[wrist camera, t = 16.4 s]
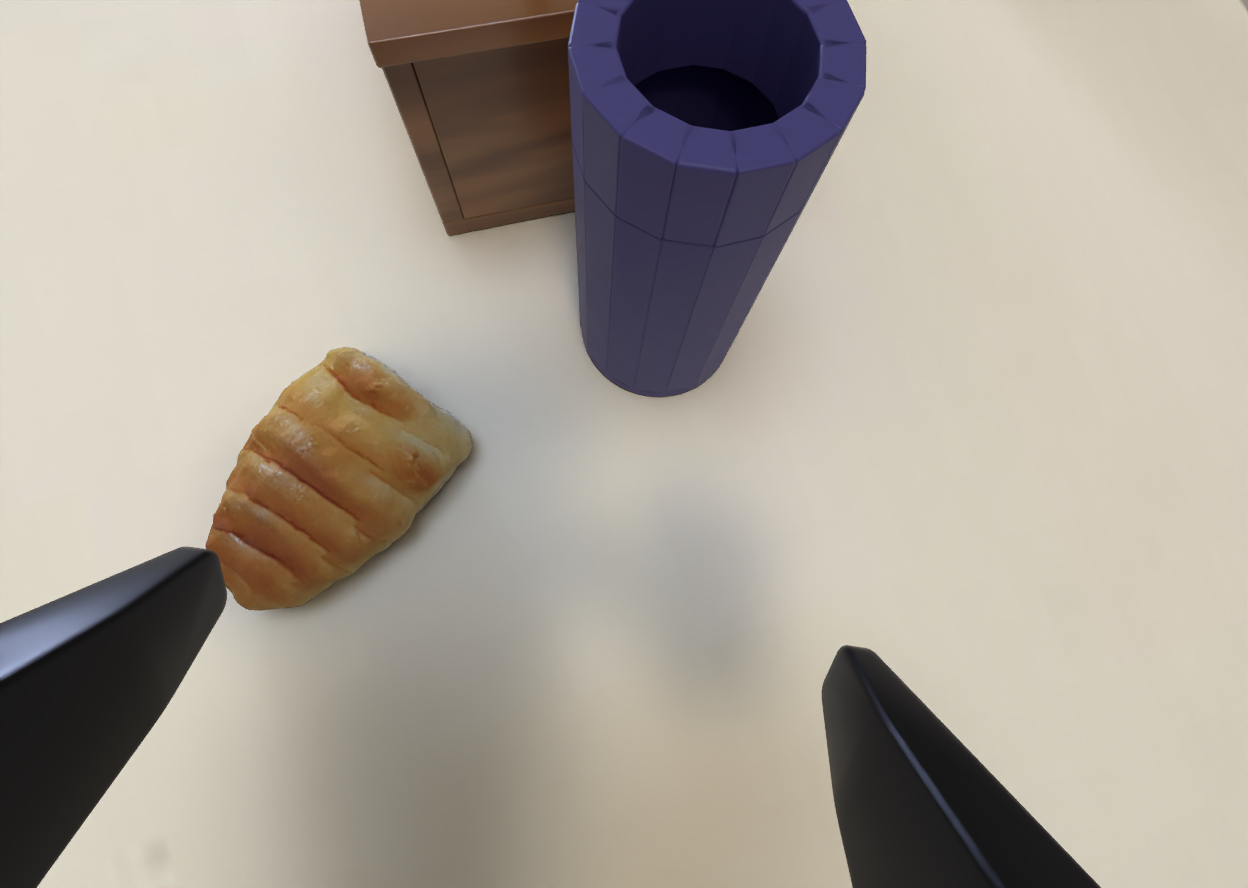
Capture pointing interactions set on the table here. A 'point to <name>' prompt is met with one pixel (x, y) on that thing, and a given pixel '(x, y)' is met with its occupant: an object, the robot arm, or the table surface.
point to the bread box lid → (459, 26)
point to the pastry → (330, 480)
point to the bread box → (491, 132)
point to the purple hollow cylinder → (696, 167)
